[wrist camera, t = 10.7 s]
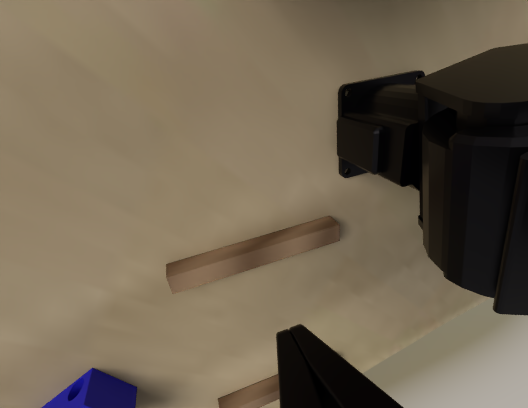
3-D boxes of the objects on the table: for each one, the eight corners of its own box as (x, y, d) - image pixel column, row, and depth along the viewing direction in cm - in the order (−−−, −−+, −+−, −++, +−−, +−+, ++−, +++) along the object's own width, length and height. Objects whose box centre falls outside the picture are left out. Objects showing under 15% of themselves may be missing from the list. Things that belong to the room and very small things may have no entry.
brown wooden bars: (329, 215, 23) (339, 224, 21) (333, 359, 32) (340, 372, 30) (166, 264, 20) (166, 277, 19) (221, 407, 29) (223, 422, 28)
